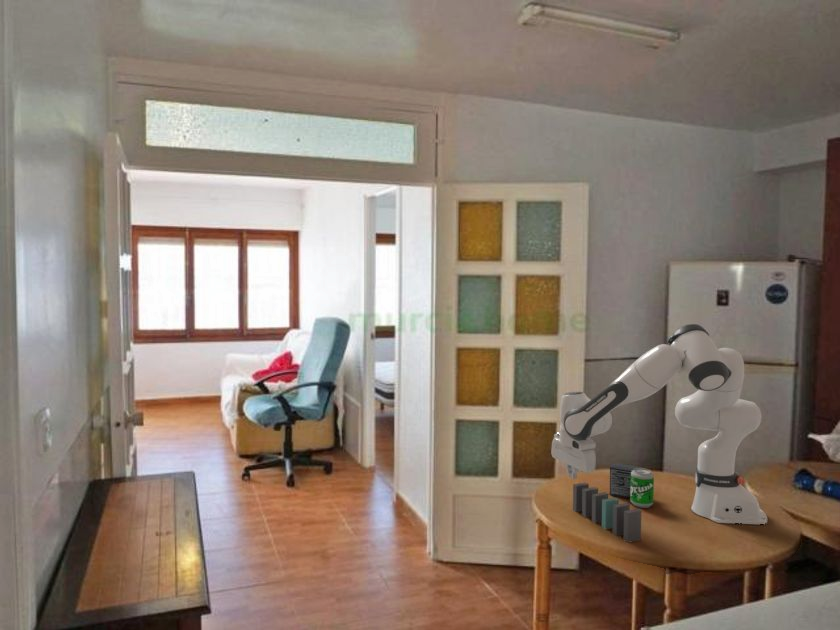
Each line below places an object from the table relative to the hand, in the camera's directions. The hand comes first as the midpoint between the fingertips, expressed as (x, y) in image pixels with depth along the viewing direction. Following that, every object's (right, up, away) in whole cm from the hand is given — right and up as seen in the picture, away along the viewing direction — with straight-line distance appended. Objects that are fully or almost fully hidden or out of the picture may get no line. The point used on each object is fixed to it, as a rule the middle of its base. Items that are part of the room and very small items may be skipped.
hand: (572, 477), depth 208 cm
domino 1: (+2, -10, -3) cm, 11 cm away
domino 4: (+8, -11, -17) cm, 22 cm away
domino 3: (+6, -11, -12) cm, 17 cm away
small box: (+22, -9, +10) cm, 26 cm away
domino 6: (+12, -12, -26) cm, 31 cm away
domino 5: (+10, -12, -22) cm, 26 cm away
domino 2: (+4, -11, -8) cm, 14 cm away
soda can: (+25, -10, +1) cm, 27 cm away
